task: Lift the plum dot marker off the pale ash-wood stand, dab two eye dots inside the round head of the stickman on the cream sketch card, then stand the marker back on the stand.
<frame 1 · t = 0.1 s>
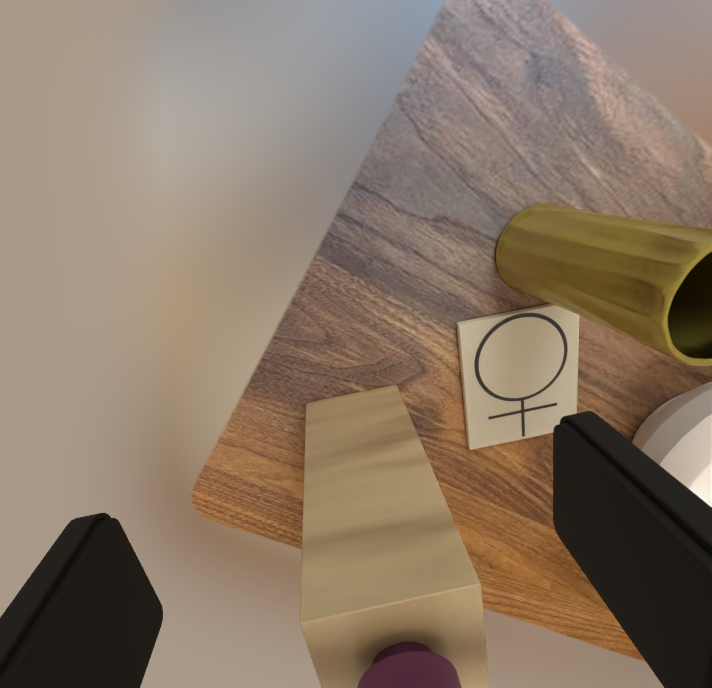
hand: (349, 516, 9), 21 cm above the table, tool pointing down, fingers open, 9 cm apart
sketch card: (518, 376, 32), on the table
dot marker: (403, 662, 17), point 17 cm above the table, touching stand
bowl: (684, 441, 37), on the table
stand: (359, 431, 33), on the table
vase: (535, 249, 29), on the table
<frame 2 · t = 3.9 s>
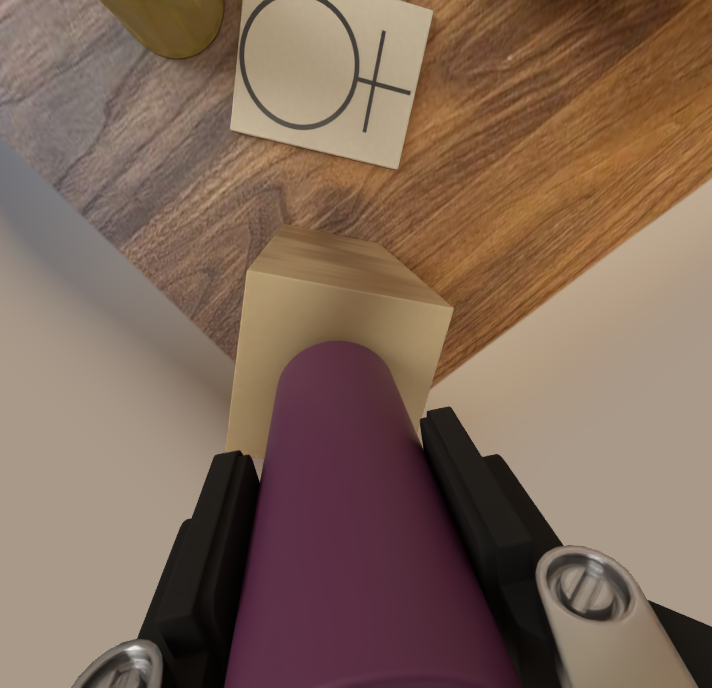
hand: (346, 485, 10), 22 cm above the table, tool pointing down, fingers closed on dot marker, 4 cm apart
sketch card: (329, 73, 26), on the table
dot marker: (335, 384, 15), point 17 cm above the table, touching gripper, stand
stand: (323, 281, 31), on the table
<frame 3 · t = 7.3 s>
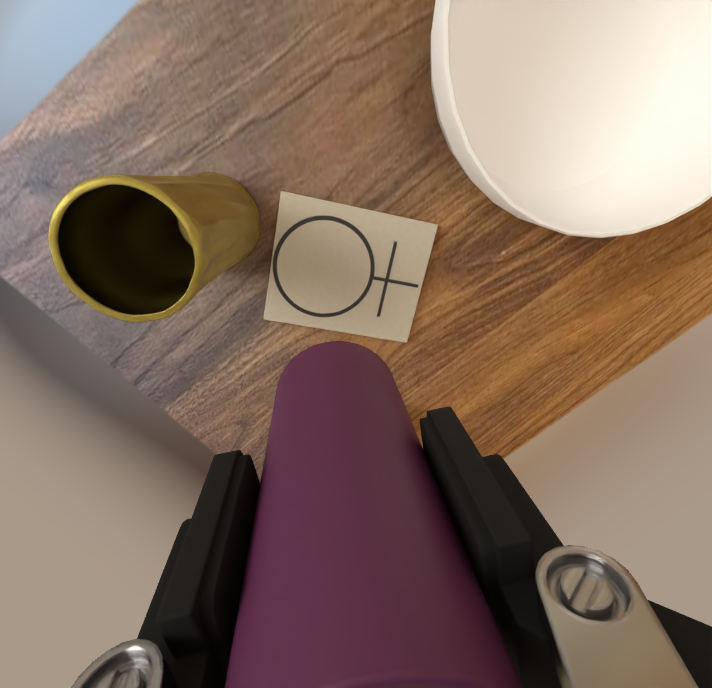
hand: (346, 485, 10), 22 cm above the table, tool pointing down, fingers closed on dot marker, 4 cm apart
sketch card: (348, 271, 30), on the table
dot marker: (335, 385, 15), point 17 cm above the table, touching gripper
bowl: (543, 74, 27), on the table
vase: (214, 221, 28), on the table
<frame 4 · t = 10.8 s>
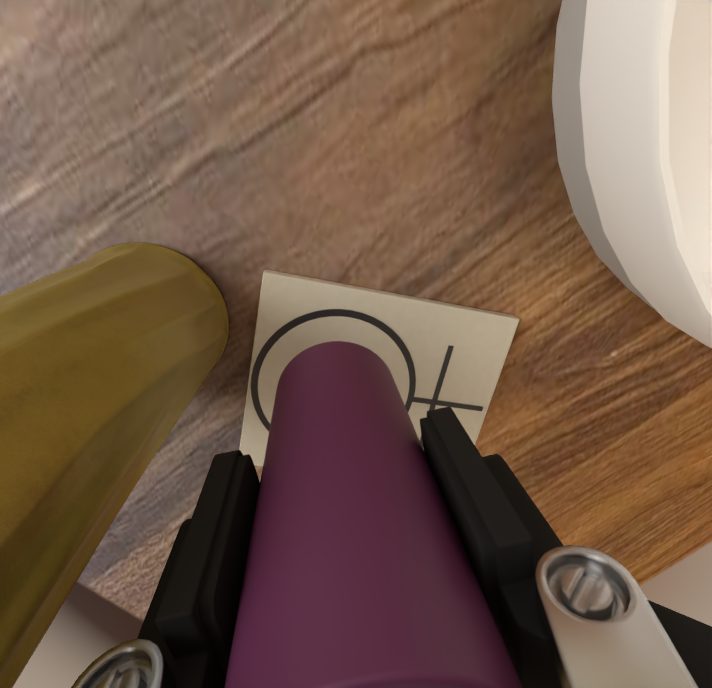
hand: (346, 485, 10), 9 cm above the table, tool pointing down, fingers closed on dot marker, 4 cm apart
sketch card: (372, 387, 19), on the table
dot marker: (335, 384, 15), point 4 cm above the table, touching gripper
bowl: (708, 75, 16), on the table
vase: (153, 317, 17), on the table
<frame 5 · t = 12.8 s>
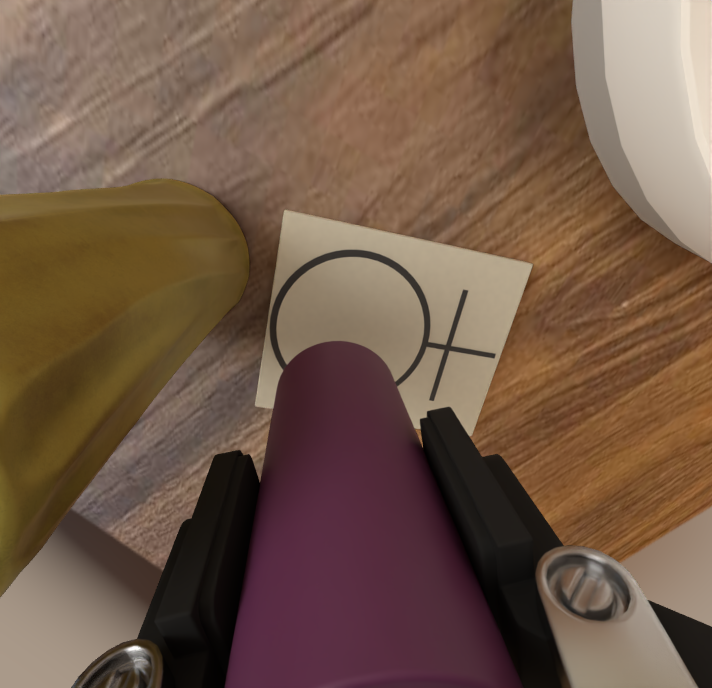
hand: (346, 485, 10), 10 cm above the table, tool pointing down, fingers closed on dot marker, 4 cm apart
sketch card: (387, 333, 19), on the table
dot marker: (335, 384, 15), point 5 cm above the table, touching gripper
vase: (176, 257, 17), on the table
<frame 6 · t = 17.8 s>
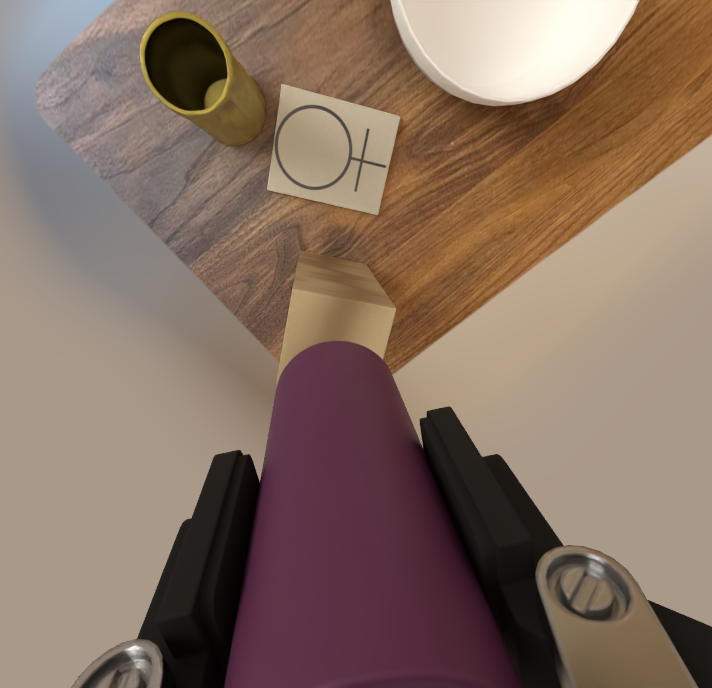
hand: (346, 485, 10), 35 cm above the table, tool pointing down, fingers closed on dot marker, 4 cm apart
sketch card: (332, 154, 39), on the table
dot marker: (335, 384, 15), point 30 cm above the table, touching gripper
stand: (326, 289, 44), on the table
vase: (231, 108, 37), on the table
when the fingers open (22 cm above the table, at t = 22.0 s): dot marker stays where it is, resting on stand.
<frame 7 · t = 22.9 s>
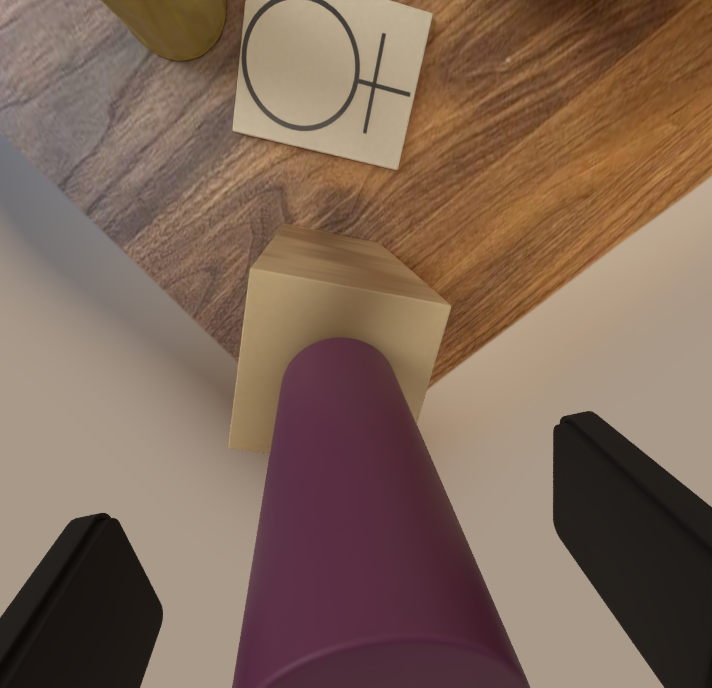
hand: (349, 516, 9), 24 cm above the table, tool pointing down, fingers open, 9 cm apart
sketch card: (330, 75, 26), on the table
dot marker: (337, 380, 15), point 17 cm above the table, touching stand
stand: (324, 280, 31), on the table
vase: (174, 1, 24), on the table
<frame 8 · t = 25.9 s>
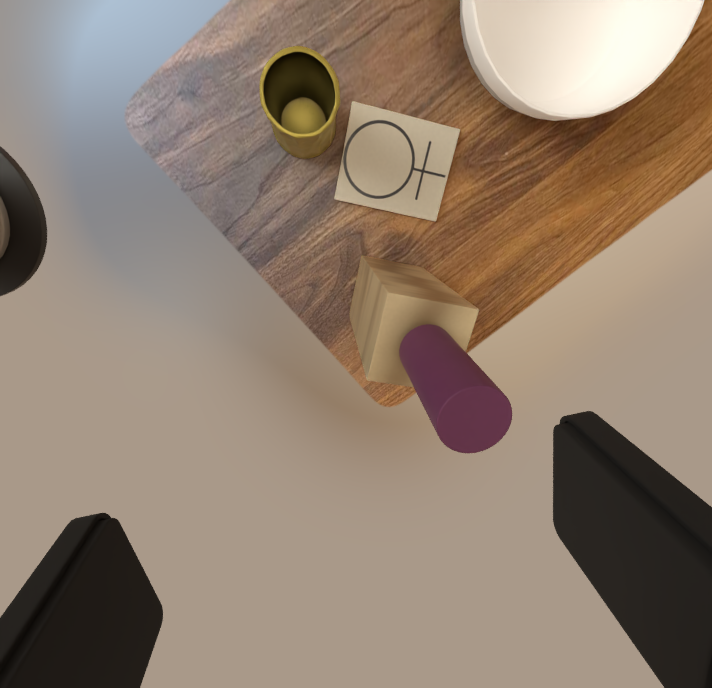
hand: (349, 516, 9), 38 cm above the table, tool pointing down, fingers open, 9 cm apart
sketch card: (395, 165, 42), on the table
dot marker: (423, 346, 31), point 17 cm above the table, touching stand
bowl: (534, 20, 39), on the table
stand: (385, 291, 47), on the table
vase: (304, 124, 40), on the table
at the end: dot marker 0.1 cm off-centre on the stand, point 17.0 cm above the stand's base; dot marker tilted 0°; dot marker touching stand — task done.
